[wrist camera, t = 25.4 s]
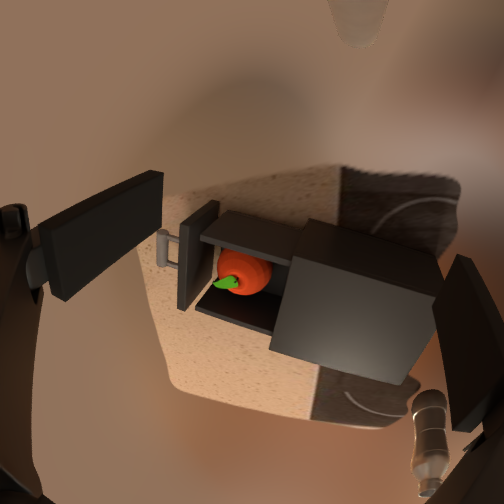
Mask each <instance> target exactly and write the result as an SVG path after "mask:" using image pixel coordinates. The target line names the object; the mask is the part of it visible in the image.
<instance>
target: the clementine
mask: <svg viewBox="0 0 504 504" xmlns="http://www.w3.org/2000/svg"><path fill="white" fill-rule="evenodd" d="M272 271H273V264H272V262H271V261H267V260H264V259H261V258H257V257H254V256H250V255H247V254H244V253H240V252H237V251H234V250H230V249H227V248H225V249H224V250H223V251H222V252H221V254H220V256H219V259H218V263H217V272H218V276H219V279H220V280H219V281H217V282H214V280H213V282H212V283H213V284H214V285H215V286H216V287H218V288H222V289H228V290H229V291H231V292H233V293H236V294H239V295H252V294H254V293H256V292H259V291H261V290H262V289H263V288H264V287H265V286H266V285H267V284H268V282H269V280H270V279H271V275H272Z"/></svg>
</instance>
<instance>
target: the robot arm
mask: <svg viewBox="0 0 504 504" xmlns="http://www.w3.org/2000/svg"><path fill="white" fill-rule="evenodd" d="M163 176H164V173H163V172H158V171H153V170H148V171H146V172H144V173H141V174H139V175H137V176H135V177H132V178H130V179H128V180H126V181H124V182H121V183H119V184H117V185H115V186H112V187H110V188H108V189H106V190H104V191H102V192H100V193H98V194H96V195H93V196H91V197H89V198H87V199H85V200H83V201H81V202H79V203H77V204H75V205H73V206H71V207H70V208H68V209H66V210H64V211H62V212H60V213H58V214H56V215H54V216H52V217H51V218H49V219H47V220H45V221H43V222H41V223H40V224H38V226H36V227H34V228H33V229H31V230H30V224H29V218H28V211H27V206H26V205H24V204H10V205H6V206H4V207H2V208H0V504H55V503H53V501H51V500H50V499H48V498H47V497H46V496H44V495H43V491H42V486H41V482H40V479H39V476H38V474H37V471H36V469H35V467H34V464H33V459H32V439H31V411H32V410H31V409H32V386H33V385H32V384H33V371H34V360H35V350H36V342H37V334H38V327H39V320H40V313H41V307H42V302H43V296H44V292H43V287H42V285H43V284H44V283H46V282H47V281H49V285H50V289H51V293H52V295H54V296H56V297H57V298H59V299H61V300H63V301H64V302H66V301H68V300H69V299H70V298H71V297H72V296H74V295H75V294H76V293H77V292H78V291H80V290H81V289H82V288H83V287H85V286H86V285H87V284H88V283H89V282H90V281H92V280H93V279H94V278H96V277H97V276H98V275H99V274H101V273H102V272H103V271H104V270H106V269H107V268H108V267H109V266H111V265H112V264H113V263H115V262H116V261H117V260H119V259H120V258H121V257H122V256H124V255H125V254H126V253H128V252H129V251H130V250H132V249H133V248H134V247H136V246H137V245H138V244H140V243H141V242H142V241H144V240H145V239H146V238H148V237H149V236H150V235H152V234H153V233H154V232H156V231H157V230H158V229H160V228H161V227H162V198H163ZM431 307H432V311H433V315H434V320H435V324H436V329H437V333H438V338H439V343H440V348H441V353H442V359H443V364H444V370H445V376H446V383H447V390H448V397H449V404H450V413H451V423H452V431H460V432H468V433H471V432H472V431H473V430H474V429H475V428H476V427H477V426H478V425H479V424H480V423H481V422H482V424H483V430H484V431H483V432H482V433H481V434H480V435H479V436H478V437H477V438H476V439H474V440H473V441H472V442H471V443H470V444H469V445H468V446H466V448H464V449H463V451H464V452H465V451H466V450H468V451H467V452H466V453H465V455H464V456H463V457H462V459H461V460H460V461H459V463H458V464H457V465H456V467H455V468H454V469H453V471H452V472H451V473H450V474H449V476H448V477H447V478H446V479H445V481H444V482H443V483H442V484H441V485H440V487H439V488H438V489H437V490H436V491H435V492H434V494H433V495H432V496H431V497H430V498H429V499H428V500H427V502H426V503H425V504H504V322H503V320H502V318H501V316H500V313H499V311H498V309H497V307H496V305H495V303H494V301H493V299H492V297H491V295H490V293H489V291H488V289H487V287H486V285H485V283H484V281H483V279H482V277H481V276H480V274H479V272H478V270H477V268H476V267H475V264H474V263H473V261H472V259H471V258H468V257H465V256H462V255H459V254H457V255H456V257H455V259H454V261H453V264H452V266H451V268H450V270H449V272H448V275H447V276H446V279H445V281H444V283H443V285H442V287H441V289H440V291H439V293H438V295H437V297H436V299H435V301H434V302H433V304H432V306H431Z"/></svg>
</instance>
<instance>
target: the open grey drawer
mask: <svg viewBox="0 0 504 504" xmlns="http://www.w3.org/2000/svg"><path fill="white" fill-rule="evenodd" d="M219 205H220V202H219V201H215V200H211V201H209V202H208V203H207V204H205V205H204V206H203V207H201V208H200V209H199V210H197V211H196V212H195V213H193V214H192V215H191V216H189V217H188V218H187V219H185V220H184V221H183V222H182V223H180V230H179V237H177V236H174V235H170V234H169V232H168V230H165V229H160V230H158V231H157V266H159V267H166V266H169V267H172V268H175V269H177V270H178V287H177V309H179V310H182V311H184V312H185V311H186V310H187V308H188V307H189V306H190V305H191V303H192V302H193V301H194V300H195V298H196V297H197V296H198V295H199V293H200V292H201V291H202V290H203V288H204V287H205V286H206V285H207V283H208V282H209V281H210V280H211V278H212V269H213V259H214V250H215V245H217V246H220V247H221V252H222V251H223V250H224V249H225V248H227V249H230V250H234V251H237V252H240V253H244V254H247V255H250V256H254V257H257V258H261V259H264V260H267V261H271V262H272V264H273V271H272V275H271V279H270V280H269V282H268V284H267V285H266V286H265V287H264V288H263V289H262V290H261V291H259V292H256V293H254V294H252V295H239V294H236V293H233V292H231V291H229V290H228V289H222V288H218V287H216V286H215V285H214V284H212V285H211V286H210V287H209V289H208V290H207V291H206V293H205V294H204V295H203V296H202V298H201V299H200V300H199V302H198V303H197V304H196V306H195V310H196V311H199V312H202V313H204V314H207V315H210V316H213V317H216V318H218V319H221V320H224V321H227V322H230V323H233V324H236V325H239V326H242V327H245V328H248V329H251V330H254V331H257V332H260V333H263V334H266V335H269V336H272V335H273V331H274V327H275V324H276V320H277V316H278V312H279V308H280V305H281V301H282V297H283V293H284V289H285V285H286V281H287V277H288V273H289V269H290V265H291V261H292V257H293V254H294V252H295V249H296V247H297V245H298V243H299V240H300V238H301V236H302V233H303V231H304V230H301V229H297V228H294V227H290V226H287V225H283V224H279V223H276V222H272V221H268V220H265V219H261V218H257V217H254V216H250V215H246V214H242V213H239V212H235V211H231V210H227V211H226V212H225V213H223V214H222V215H221V216H220V217H219V218H218V213H219ZM169 240H170V241H173V242H176V243H179V253H178V263H175V262H172V261H169V260H168V243H169ZM219 280H220V279H219V276H218V277H217V278H216V280H215V281H214V282H217V281H219Z"/></svg>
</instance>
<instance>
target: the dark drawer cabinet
mask: <svg viewBox="0 0 504 504" xmlns="http://www.w3.org/2000/svg"><path fill="white" fill-rule="evenodd" d="M443 283H444V278H443V276H442V273H441V270H440V268H439V265H438V263H437V260H436V258H435V256H433V255H430V254H427V253H424V252H420V251H417V250H414V249H411V248H408V247H405V246H402V245H399V244H395V243H392V242H389V241H386V240H382V239H379V238H376V237H373V236H369V235H366V234H363V233H359V232H356V231H353V230H349V229H346V228H342V227H339V226H335V225H332V224H328V223H325V222H321V221H318V220H314V219H311V218H309V219H308V222H307V224H306V226H305V229H304V231H303V233H302V236H301V238H300V240H299V243H298V245H297V247H296V249H295V252H294V254H293V257H292V261H291V265H290V269H289V273H288V277H287V281H286V285H285V289H284V293H283V297H282V301H281V305H280V308H279V312H278V316H277V320H276V324H275V327H274V331H273V335H272V338H271V342H270V346H269V350H271V351H274V352H278V353H281V354H284V355H287V356H291V357H294V358H297V359H300V360H304V361H307V362H311V363H314V364H318V365H321V366H325V367H328V368H332V369H335V370H339V371H343V372H347V373H350V374H354V375H358V376H362V377H366V378H370V379H374V380H378V381H382V382H387V383H391V384H395V385H400V384H401V383H402V382H403V380H404V379H405V377H406V376H407V374H408V373H409V372H410V370H411V369H412V367H413V366H414V364H415V363H416V361H417V360H418V358H419V357H420V355H421V353H422V352H423V350H424V348H425V347H426V345H427V344H428V342H429V341H430V339H431V338H432V336H433V334H434V332H435V331H436V324H435V320H434V315H433V311H432V307H431V306H432V304H433V302H434V301H435V299H436V297H437V295H438V293H439V291H440V289H441V287H442V285H443Z"/></svg>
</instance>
